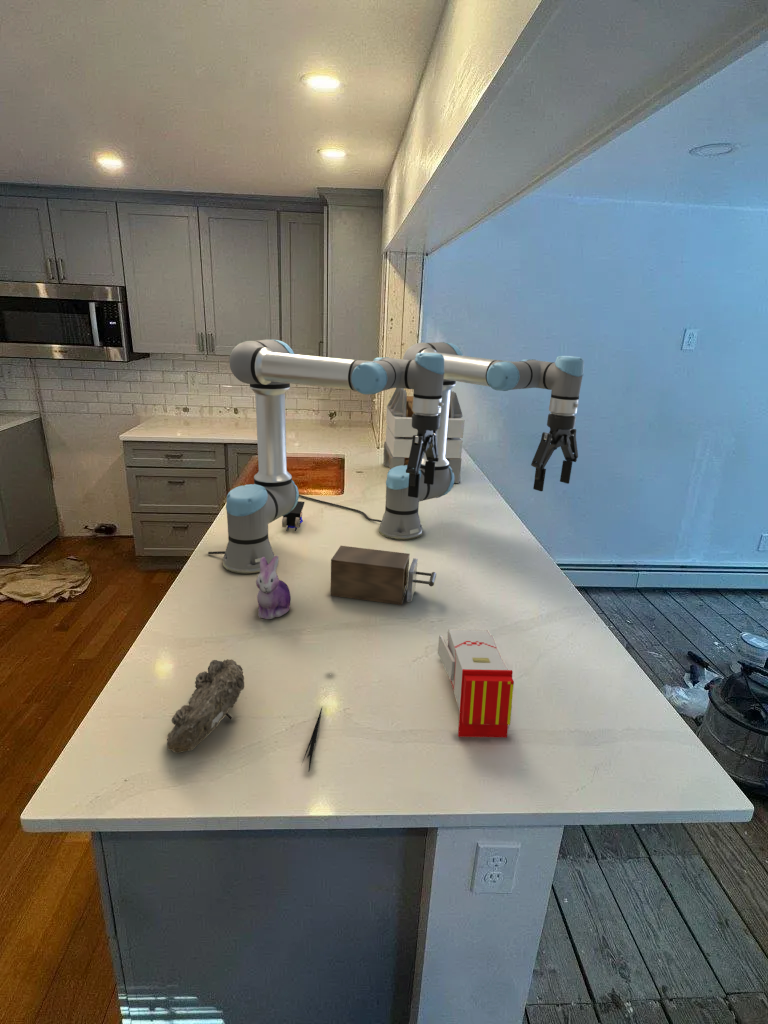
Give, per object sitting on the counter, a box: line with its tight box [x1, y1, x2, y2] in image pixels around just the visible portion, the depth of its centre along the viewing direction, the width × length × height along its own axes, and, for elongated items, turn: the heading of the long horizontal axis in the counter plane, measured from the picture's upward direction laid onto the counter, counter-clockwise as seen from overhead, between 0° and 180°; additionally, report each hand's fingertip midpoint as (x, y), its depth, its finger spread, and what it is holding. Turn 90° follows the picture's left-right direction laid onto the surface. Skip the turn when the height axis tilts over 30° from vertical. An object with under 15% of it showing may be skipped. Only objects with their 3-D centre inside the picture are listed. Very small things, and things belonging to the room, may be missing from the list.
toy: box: [437, 628, 515, 738], centre depth 117 cm, size 12×13×30 cm
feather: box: [301, 673, 332, 771], centre depth 108 cm, size 2×28×2 cm
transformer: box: [383, 388, 465, 484], centre depth 268 cm, size 34×33×41 cm
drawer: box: [403, 557, 437, 603], centre depth 156 cm, size 24×9×9 cm, turn 79°
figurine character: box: [281, 500, 305, 532], centre depth 201 cm, size 7×8×15 cm
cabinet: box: [330, 545, 410, 606], centre depth 156 cm, size 20×10×11 cm, turn 79°
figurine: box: [255, 555, 292, 620], centre depth 143 cm, size 9×10×15 cm
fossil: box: [166, 658, 245, 754], centre depth 106 cm, size 22×10×15 cm
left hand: (421, 490), depth 157 cm, fingers open, 13 cm apart
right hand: (551, 486), depth 165 cm, fingers open, 13 cm apart
